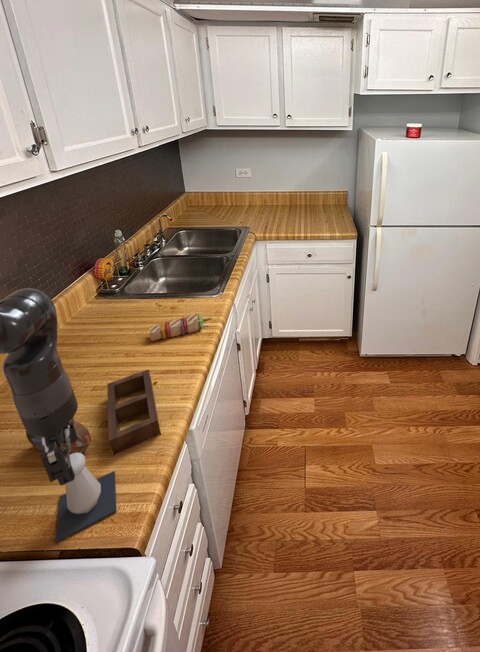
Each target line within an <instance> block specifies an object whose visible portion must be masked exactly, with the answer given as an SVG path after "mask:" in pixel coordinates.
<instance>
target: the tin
mask: <svg viewBox="0 0 480 652" xmlns="http://www.w3.org/2000/svg"><path fill="white" fill-rule="evenodd" d="M74 428H75V431H76V434H77V441H76V442H73V443H71V447H72V450H71V451H70V453H69V455H71V454H74V453H82V454H84V452H85V451H86V450H87V448H88V447H89V446H90V444H91V442H92V437H91V434H90V431H89V429H88V428H87V427H86V426H85V425H84V424H83V423H81V422H79V421H76V420H74ZM25 435H26V439H27V440H28V442H29V444H31V446H33V447H34V448H35V449H36V450H38V451H40V452H42V453H45V446H44V445H43V444H42V436H34V435H30V434H29V433H27V431H26V430H25ZM61 448H62V449H63V450H64V449H66V445H64V446H61Z"/></svg>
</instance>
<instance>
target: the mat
mask: <svg viewBox="0 0 480 652" xmlns="http://www.w3.org/2000/svg"><path fill="white" fill-rule="evenodd" d="M96 479H97V481H98V482H99V483H100V484H101V493H100V495H99V498H98V501H97V504H96V505H95V506H94V507H93V508H92V509H91V510H90V511H89V512H88V513H83V514H75V513H71V511H70V510H69V509H68V508H67V498H66V493H64V494H62V495H60V496H59V501H58V510H57V520H56V530H55V538H54V539H55V540H54V542H55V544H58V543H60V542H62V541H63V539H64V538H66V537H68V536H70V537H72V536H73V535H72V534H74V535H75V534H78V533H79V532H81V531H83V530H85V529H87V528H88V527H91V526H93V525H95V524H96V523H98V522H101V521H102V520H104V519H106V518H108V517H110V516H112V515H114V514H116V513H117V493H116V491H117V490H116V471H115V470H113V471H111V472H109V473H107V474H104V475H103V476H100V477H98V478H96ZM71 535H72V536H71ZM68 538H69V537H68ZM66 539H67V538H66ZM61 540H62V541H61ZM64 540H65V539H64ZM59 541H60V542H59ZM57 542H58V543H57Z"/></svg>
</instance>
